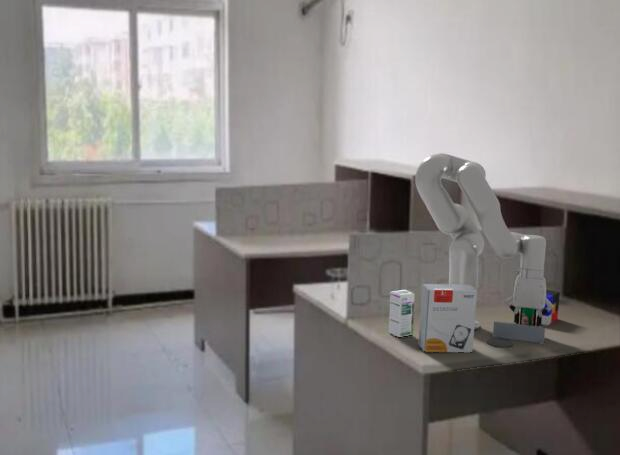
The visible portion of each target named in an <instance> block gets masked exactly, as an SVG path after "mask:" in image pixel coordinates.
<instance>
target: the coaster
mask: <svg viewBox="0 0 620 455" xmlns="http://www.w3.org/2000/svg"><path fill="white" fill-rule="evenodd" d="M486 343H487V345H489V346H491V347H494V348H495V347H496V348H510V347H512V346H513V344H514V342H513V341H512V339H506V338H499V337H494V338H492V337H490V338H489V337H488V338H487V339H486Z"/></svg>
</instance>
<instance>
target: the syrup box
mask: <svg viewBox="0 0 620 455" xmlns="http://www.w3.org/2000/svg"><path fill="white" fill-rule="evenodd" d="M389 293H390V294H389V320H388V325H389V326H388V333H389V332H390V333H393V334H395V335H397V336H399V337H401V336H408V335H413V336H414V316H415V295H416V294H415V293H414V292H413V291H411V290H407V289H400V290H394V291H390V292H389ZM408 337H409V336H408Z"/></svg>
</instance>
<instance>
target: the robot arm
mask: <svg viewBox="0 0 620 455" xmlns="http://www.w3.org/2000/svg"><path fill="white" fill-rule="evenodd" d="M442 179H445V180H448V181H452V182H454V183H457V185H458V187H459V188H460V190H461V191H462V193H463V195H464V197H465V198H466V199H467V201H468V203H469V205H470V207H471V208H472V210H473V211H474V213H475V216H476V218H477V221H478V223H479V225H480V228H481V230H482V231H483V232H482V233H483V235H484V236H485V237H486V239H487V241H488V243H489V244H490V246H491V248H492V249H493V251H494V252H495V254H496V255H497V256H498V257H500V258H502V259H504V260H510V259H513V258H515V257H516V256H517V255H520V263H519V267H516V268H515V269H514V273H518V275H517V276H516V278H515V283H514V286H513V287H514V288H513V294H512V295H510V296H509V297H508V298H507V299H506V300H505V301H504V303H505V305H507V306H508V307H509V309H510V310H511V312H513V314H514V315H513V316H514V318H513V323H514V324H520V309H521V307H522V308H530V309H537V312H538V316H537V323H536V325H535V326H537V327H542V324H541V323H542V316H543V315H545V314H546V313H547V312H549V311H550V310H552V309H553V307H554V306H553V305H552V304H551V302H550V301H549V300H548V299H547V298H546V290H547V283H546V278H545V277H544V272H545V259H546V246H547V240H546V238H545V237H544V236H541V235H539V234H538V235H537V234H536V235H535V234H524V233H519V232H514V231H510V230H509V228H508V227H507V225H506V223H505V220H504V217H503V215H502V212H501V209H502V208H501V204H500V201H499V199H498V197H497V195H496V194H495V192H494V191H493V189H492V187H491V186H490V184H489V182H488V181H487V179H486V169H485V168H484V167H483V165H482V164H480V163H478V162H475V161H471V160H468V159H465V158H461V157H458V156H454V155H450V154H447V153H443V152H442V153H436V154H431V155H429V156H427V157H425V158H424V159H423V160H422V161H421V162H420V164H419V166H418V167H417V170H416V173H415V179H414V180H415V186H416V190H417V192H418V194H419V196H420V198H421V200H422V202H423V203H424V205H425V206H426V209H427V210H428V212H429V214H430V216H431V218H432V219H433V221H434V223H435V225H436V227H437V228H438V230H439V231H440V232H442V233H443V234H445V235H450V237H451V239H452V240H451V243H450V247H449V250H448V261H449V262H448V264H449V265H448V266H449V270H448V272H449V273H448V284H465V285H471V286H472V287H474V288H475V289H476V290H477V291H478V280H479V278H478V277H479V255H481V254H482V252H483V250H484V247H485V240H484V238H483V236H482V234H481V232H480V230H479V228H478V226H477V225H476V223H475V222H474V220H473V218H472V216H471V214H470V213H469V212H468V210H467V209H466V208H465V207H464V206H463V205H461V204H460V203H454V201H453V200H452V197H451V196H450V194H449V192H448V191H447V189H446V188H445V187H444V186H443V184H442ZM545 303H546V305H547V306H548V307H547V308H545V309H544V310H543V311H542V309H543V308H544V307H545ZM475 315H476V313H475ZM479 328H480V322H479V321H477V320H476V319H475V326H474V331H475V330H477V329H479Z"/></svg>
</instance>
